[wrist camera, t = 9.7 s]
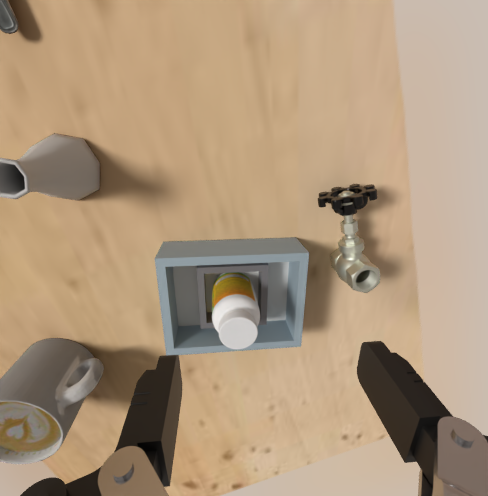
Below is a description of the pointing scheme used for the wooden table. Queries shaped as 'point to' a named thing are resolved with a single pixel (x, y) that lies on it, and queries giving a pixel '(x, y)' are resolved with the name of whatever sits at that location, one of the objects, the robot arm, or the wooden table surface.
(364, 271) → the valve
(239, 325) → the supplement bottle
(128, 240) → the wooden table surface
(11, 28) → the salad plate
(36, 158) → the flask
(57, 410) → the coffee mug
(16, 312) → the wooden table surface
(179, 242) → the walled box
